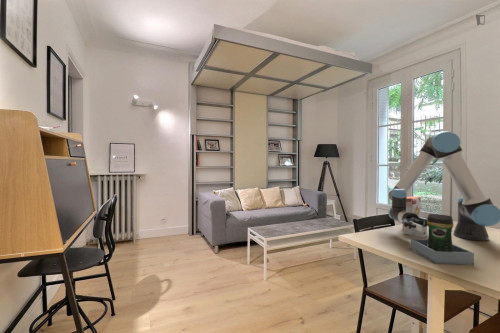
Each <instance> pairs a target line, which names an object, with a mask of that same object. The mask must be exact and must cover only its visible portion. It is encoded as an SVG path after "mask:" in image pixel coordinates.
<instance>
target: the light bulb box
mask: <svg viewBox="0 0 500 333" xmlns="http://www.w3.org/2000/svg"><path fill="white" fill-rule="evenodd" d="M419 218H422V219H428V217H422V216H420V217H419ZM424 225H425V222H424ZM421 226H422V225H421ZM402 230H403V234H405V235H411V236H415V237H419V238H425V237H428V226H422V232H421V231H418V230H416V229H414V228H412V227H411V229H409V226H407V227H404V229H402Z"/></svg>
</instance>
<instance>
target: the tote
mask: <svg viewBox="0 0 500 333" xmlns="http://www.w3.org/2000/svg"><path fill="white" fill-rule="evenodd" d="M427 243H428V238H427V239H423V238H422V239H421V238H411V239H410V243H409V244H410V250H412V251H413V252H415V253H417V254H418V255H420V256H421V257H423V258H426V259H427V260H428V261H430V262H432V263H433V264H436V265H437V264H438V265H439V264H440V265H442V264H443V265H463V266H464V265H469V266H474V264H475V253H474V252H472V251H471V250H467V249H465V248H464V247H461V246H458V245H456V244H454V243H452V245H453V252H443V251H434V250H432V249H431V248H429V247H427Z"/></svg>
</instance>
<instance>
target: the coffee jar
mask: <svg viewBox="0 0 500 333" xmlns="http://www.w3.org/2000/svg"><path fill="white" fill-rule="evenodd" d="M427 224H428V226H427V228H428V233H427V239H428V243H427V247H429V248H431V249H432V250H434V251H443V252H453V245H452V244H453V237H452V235H453V234H452V232H453V228H454V220H453V216H451V215H447V214H439V213H429V214H428V216H427ZM451 231H452V232H451Z"/></svg>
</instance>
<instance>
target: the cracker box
mask: <svg viewBox="0 0 500 333" xmlns="http://www.w3.org/2000/svg"><path fill="white" fill-rule="evenodd" d="M406 211H408V212H411V213H414V214H416V215H418V217H421V197H420V196H414V195H413V196H406ZM402 230H404V224H403V223H402Z"/></svg>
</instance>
